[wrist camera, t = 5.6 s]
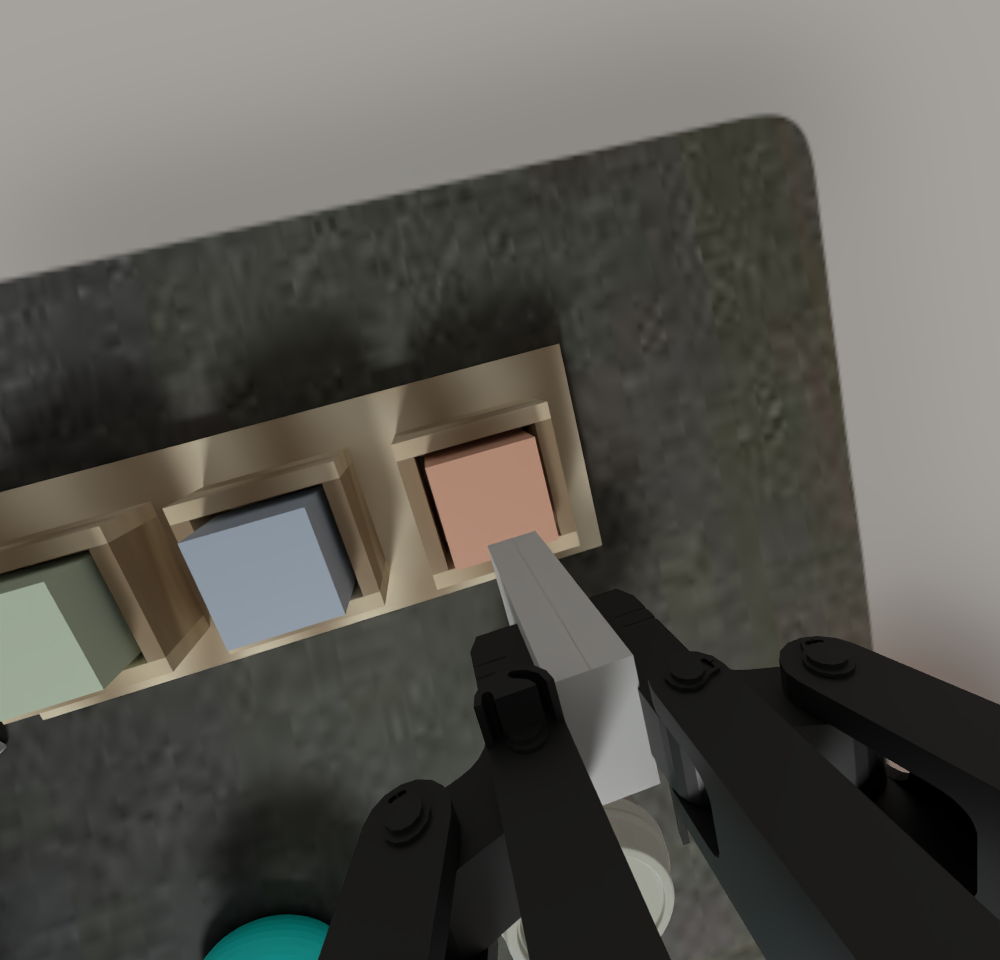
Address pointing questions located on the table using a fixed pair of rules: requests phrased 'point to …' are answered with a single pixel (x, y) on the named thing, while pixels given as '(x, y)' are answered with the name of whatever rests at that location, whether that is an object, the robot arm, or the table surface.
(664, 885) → the coffee cup
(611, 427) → the table surface
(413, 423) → the button panel
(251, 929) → the donuts
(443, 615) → the table surface
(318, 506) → the slate button
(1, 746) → the supplement box
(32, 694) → the sage button
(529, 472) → the terracotta button
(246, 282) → the table surface
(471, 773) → the robot arm
